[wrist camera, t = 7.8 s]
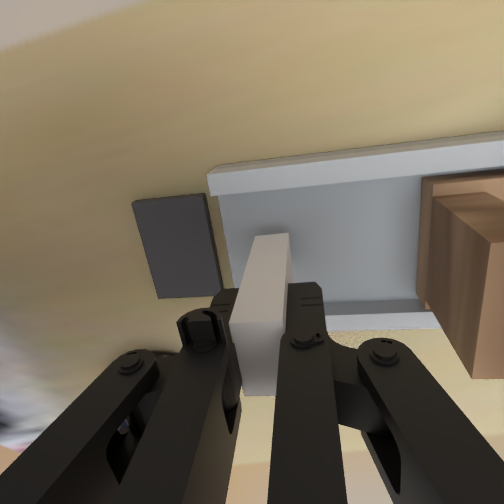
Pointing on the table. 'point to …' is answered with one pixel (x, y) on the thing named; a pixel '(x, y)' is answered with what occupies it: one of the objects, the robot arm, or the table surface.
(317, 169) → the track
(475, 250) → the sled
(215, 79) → the table surface
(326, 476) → the robot arm
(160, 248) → the dark grey flat block
